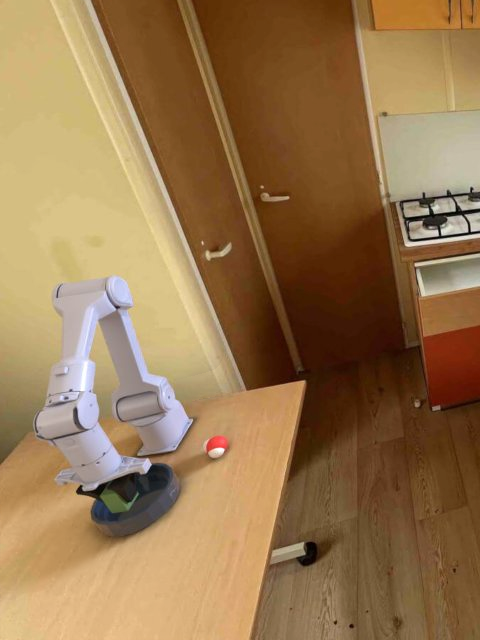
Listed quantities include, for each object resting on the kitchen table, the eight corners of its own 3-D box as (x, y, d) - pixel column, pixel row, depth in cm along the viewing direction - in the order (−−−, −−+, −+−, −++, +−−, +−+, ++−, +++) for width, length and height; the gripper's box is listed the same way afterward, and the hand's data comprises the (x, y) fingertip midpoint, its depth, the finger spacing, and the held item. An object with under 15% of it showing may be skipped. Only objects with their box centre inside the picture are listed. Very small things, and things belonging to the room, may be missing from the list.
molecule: (233, 443, 102) (228, 431, 100) (222, 461, 97) (216, 448, 95) (212, 444, 101) (206, 432, 99) (200, 462, 97) (193, 449, 95)
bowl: (126, 481, 93) (117, 468, 91) (192, 471, 95) (185, 458, 93) (84, 544, 81) (72, 530, 79) (160, 531, 83) (151, 517, 81)
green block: (123, 496, 85) (111, 478, 83) (139, 493, 86) (127, 476, 83) (112, 513, 82) (99, 496, 80) (128, 511, 83) (116, 493, 80)
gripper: (27, 479, 72) (65, 526, 79) (122, 466, 75) (152, 512, 81) (58, 445, 79) (91, 490, 85) (145, 433, 81) (171, 478, 87)
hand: (122, 499), depth 83 cm, fingers closed on green block, 3 cm apart
